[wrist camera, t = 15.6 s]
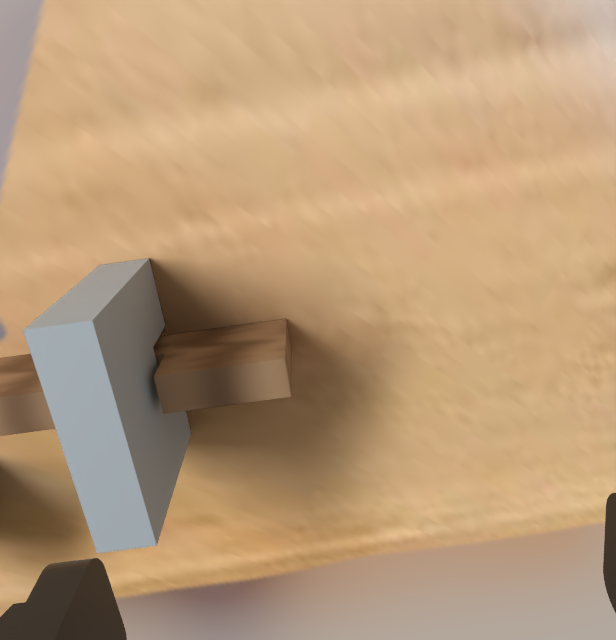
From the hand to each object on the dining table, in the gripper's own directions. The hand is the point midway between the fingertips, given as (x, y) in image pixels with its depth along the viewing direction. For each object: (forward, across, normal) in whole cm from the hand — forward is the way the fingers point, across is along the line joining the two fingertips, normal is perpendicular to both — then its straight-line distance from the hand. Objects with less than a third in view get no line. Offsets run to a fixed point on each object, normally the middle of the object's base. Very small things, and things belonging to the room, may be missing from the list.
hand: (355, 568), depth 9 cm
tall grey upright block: (+38, +15, +11) cm, 42 cm away
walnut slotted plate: (+38, +15, +11) cm, 42 cm away
